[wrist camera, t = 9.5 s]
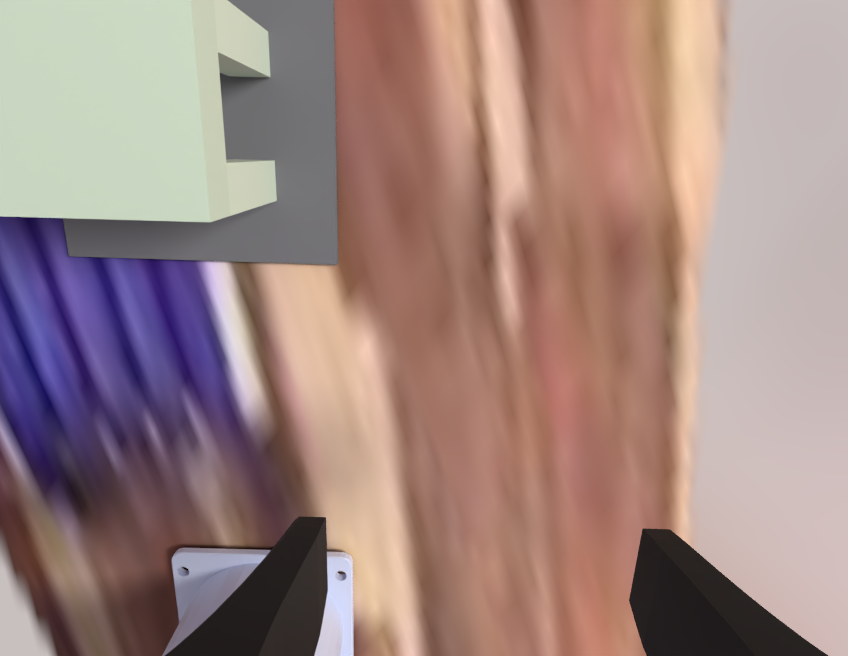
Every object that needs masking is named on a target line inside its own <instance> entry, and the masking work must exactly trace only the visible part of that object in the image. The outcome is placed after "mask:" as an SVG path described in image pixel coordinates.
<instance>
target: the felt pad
mask: <svg viewBox="0 0 848 656" xmlns="http://www.w3.org/2000/svg"><path fill="white" fill-rule="evenodd" d="M228 1H229V2H230V3H232V4H233V5H234V6H236V7H237V8H238V9H239V10H241V11H242V12H243V13H245V14H246V15H247V16H249V17H250V18H251V19H252V20H254V21H255V22H256V23H258V24H259V25H260V26H262V27H263V28H264V29H265V30H267V31H268V39H269V59H270V77H237V76H227V75H225V74H222V73H220V85H221V98H222V111H223V124H224V137H225V150H226V160H230V159H241V160H275V176H276V196H277V201H275V202H272V203H269V204H265V205H262V206H259V207H256V208H253V209H250V210H247V211H244V212H241V213H238V214H235V215H232V216H228V217H225V218H222V219H219V220H216V221H213V222H180V221H145V220H110V219H75V218H63V223H64V229H65V235H66V241H67V247H68V253H69V256H77V257H108V258H139V259H171V260H202V261H234V262H265V263H296V264H328V265H337V264H338V220H337V153H336V87H335V21H334V0H228Z"/></svg>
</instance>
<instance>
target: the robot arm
mask: <svg viewBox="0 0 848 656" xmlns="http://www.w3.org/2000/svg"><path fill="white" fill-rule="evenodd" d="M171 562H172V570H173V577H174V585H175V593H176V601H177V609H178V616H179V624H178V626H177V628H176V630H175V632H174V634H173V636H172V638H171V640H170V642H169V644H168V645H167V647H166V649H165V651H164V653H163V655H162V656H354V630H353V560H352V557H351V556H350V555H349V554H347V553H344V552H327V540H326V518H325V517H298V518H297V519H296V520H295V521H294V522H293V523H292V524H291V526H290V527H289V528H288V530H287V531H286V532H285V534H284V535H283V536H282V537H281V539H280V540H279V541H278V542H277V544H276V545H275V546H274V547H273V548H272V550H252V549H216V548H180V549H178V550H177V551H176V552H175V554H174V555H173V557H172V561H171ZM182 567H186V568H187V569H188V570H185V569H183V568H182ZM338 571H343V572H345V573H346V574H339V573H338ZM629 601H630V605H631V608H632V612H633V615H634V619H635V622H636V626H637V629H638V632H639V635H640V638H641V642H642V645H643V648H644V650H645V652H646V655H647V656H828V655H826V654H825V653H824V652H822V651H820V650H819V649H818V648H816V647H815V646H813V645H812V644H810V643H809V642H808V641H806V640H805V639H804V638H802V637H801V636H799V635H798V634H797V633H796V632H794V631H793V630H792V629H790V628H789V627H787V626H786V625H785V624H784V623H782V622H781V621H780V620H778V619H777V618H776V617H775V616H773V615H772V614H771V613H769V612H768V611H767V610H766V609H764V608H763V607H762V606H760V605H759V604H758V603H757V602H756V601H754V600H753V599H752V598H751V597H749V596H748V595H747V594H746V593H744V592H743V591H742V590H741V589H740V588H738V587H737V586H736V585H735V584H734V583H732V582H731V581H730V580H729V579H728V578H727V577H725V576H724V575H723V574H722V573H721V572H719V571H718V570H717V569H716V568H715V567H714V566H713V565H711V564H710V563H709V562H708V561H707V560H706V559H704V558H703V557H702V556H701V555H700V554H699V553H697V552H696V551H695V550H694V549H693V548H692V547H690V546H689V545H688V544H687V543H686V542H685V541H683V540H682V539H681V538H680V537H679V536H677V535H676V534H675V533H673V532H672V531H671V530H668V529H643V530H642V535H641V541H640V546H639V551H638V557H637V562H636V567H635V573H634V578H633V583H632V589H631V594H630V599H629Z"/></svg>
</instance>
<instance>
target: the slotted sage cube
mask: <svg viewBox="0 0 848 656" xmlns="http://www.w3.org/2000/svg"><path fill="white" fill-rule="evenodd" d="M220 73H222V74H225V75H227V76H237V77H270V59H269V39H268V31H267V30H265V29H264V28H263V27H262V26H260V25H259V24H258V23H256V22H255V21H254V20H252V19H251V18H250V17H249V16H247V15H246V14H245V13H243V12H242V11H241V10H239V9H238V8H237V7H236V6H234V5H233V4H232V3H230V2H229V1H228V0H0V216H4V217H39V218H75V219H110V220H145V221H180V222H213V221H216V220H219V219H222V218H225V217H228V216H232V215H235V214H238V213H241V212H244V211H247V210H250V209H253V208H256V207H259V206H262V205H265V204H269V203H272V202H275V201H277V196H276V176H275V160H241V159H230V160H226V150H225V137H224V124H223V111H222V98H221V85H220Z"/></svg>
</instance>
